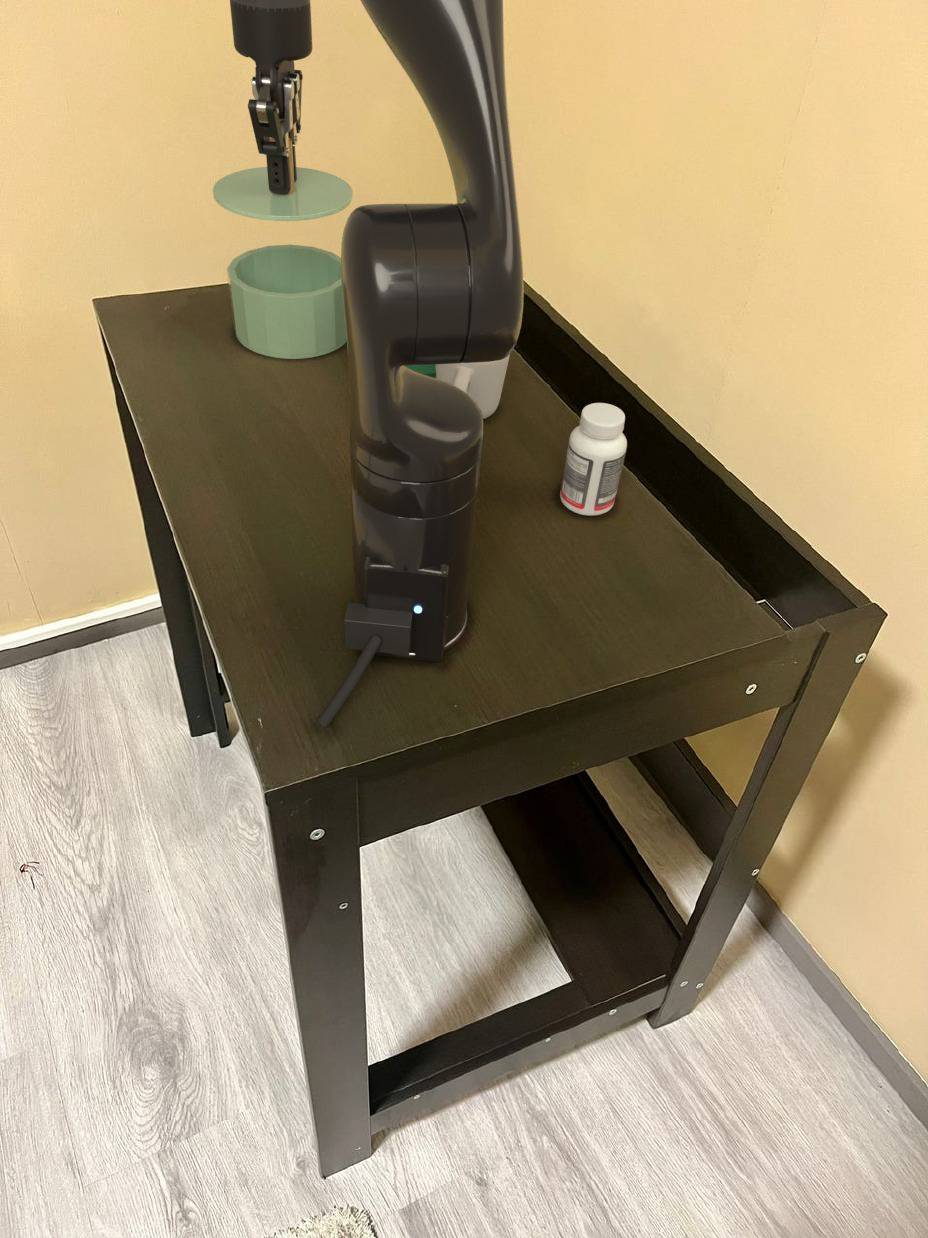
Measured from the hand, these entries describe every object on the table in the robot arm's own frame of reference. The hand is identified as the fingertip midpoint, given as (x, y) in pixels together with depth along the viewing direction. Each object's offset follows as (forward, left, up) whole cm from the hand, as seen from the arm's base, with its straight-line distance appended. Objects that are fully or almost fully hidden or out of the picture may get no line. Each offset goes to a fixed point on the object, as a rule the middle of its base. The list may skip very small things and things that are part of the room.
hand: (283, 186), depth 97 cm
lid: (0, 0, -1) cm, 1 cm away
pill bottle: (-28, -35, -17) cm, 48 cm away
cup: (-15, -22, -17) cm, 31 cm away
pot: (0, 0, -17) cm, 17 cm away
